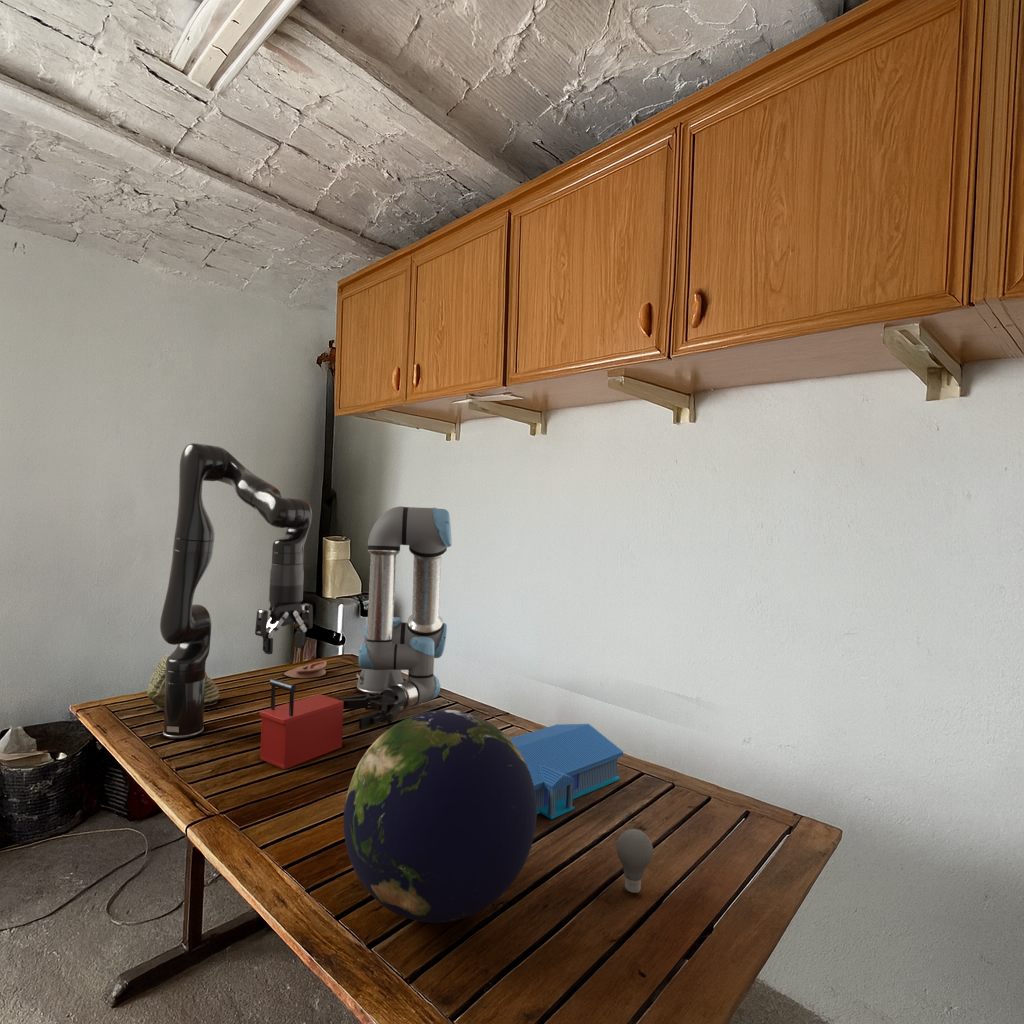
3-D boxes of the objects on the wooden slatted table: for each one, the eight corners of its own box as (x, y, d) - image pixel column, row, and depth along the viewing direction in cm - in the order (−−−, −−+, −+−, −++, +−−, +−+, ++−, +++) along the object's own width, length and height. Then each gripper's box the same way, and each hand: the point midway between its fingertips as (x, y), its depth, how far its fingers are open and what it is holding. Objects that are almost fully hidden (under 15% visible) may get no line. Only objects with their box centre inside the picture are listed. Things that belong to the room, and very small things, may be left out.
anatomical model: (279, 664, 218) (297, 657, 229) (279, 676, 218) (296, 668, 229) (314, 668, 215) (331, 660, 227) (314, 680, 216) (330, 671, 227)
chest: (284, 769, 146) (285, 723, 146) (260, 759, 151) (261, 715, 151) (342, 747, 160) (343, 705, 160) (318, 738, 165) (319, 697, 165)
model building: (505, 839, 120) (507, 787, 120) (430, 791, 138) (432, 746, 138) (631, 784, 146) (633, 741, 146) (555, 749, 164) (556, 711, 164)
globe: (296, 934, 92) (304, 728, 91) (406, 836, 119) (412, 678, 119) (484, 1004, 80) (494, 770, 80) (557, 878, 108) (565, 703, 108)
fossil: (144, 707, 182) (145, 655, 182) (212, 696, 194) (213, 647, 194) (151, 716, 175) (153, 662, 175) (221, 703, 188) (223, 653, 188)
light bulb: (610, 879, 108) (613, 822, 108) (644, 879, 109) (647, 822, 109) (619, 902, 102) (622, 840, 102) (655, 901, 103) (658, 840, 103)
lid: (283, 724, 145) (284, 688, 145) (259, 715, 150) (260, 680, 150) (343, 705, 160) (344, 672, 160) (319, 697, 165) (320, 665, 165)
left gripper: (270, 586, 142) (267, 658, 142) (321, 581, 154) (318, 648, 154) (250, 583, 146) (247, 653, 146) (301, 578, 158) (298, 643, 158)
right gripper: (431, 720, 175) (375, 743, 157) (366, 701, 189) (308, 721, 171) (432, 693, 175) (377, 713, 157) (367, 676, 189) (309, 693, 171)
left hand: (284, 650), depth 150 cm, fingers open, 8 cm apart
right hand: (341, 717), depth 164 cm, fingers open, 13 cm apart
